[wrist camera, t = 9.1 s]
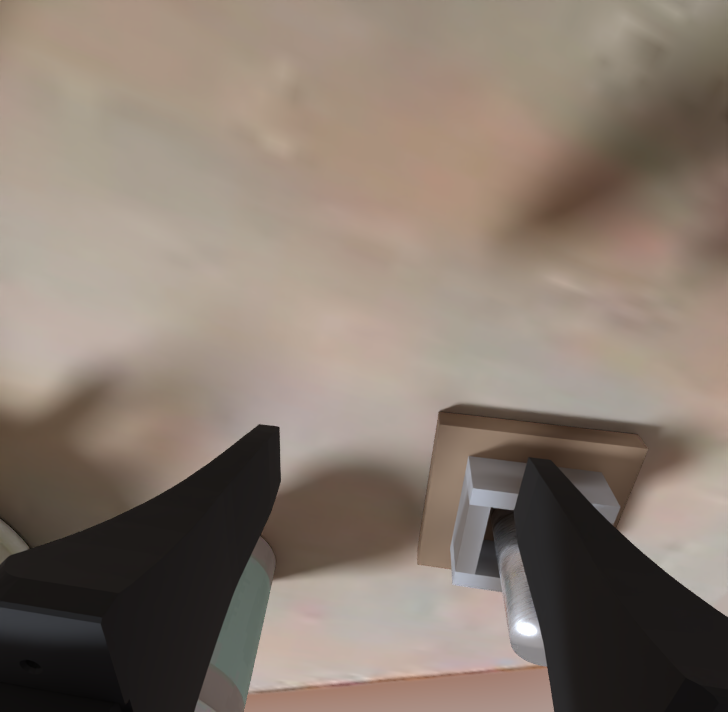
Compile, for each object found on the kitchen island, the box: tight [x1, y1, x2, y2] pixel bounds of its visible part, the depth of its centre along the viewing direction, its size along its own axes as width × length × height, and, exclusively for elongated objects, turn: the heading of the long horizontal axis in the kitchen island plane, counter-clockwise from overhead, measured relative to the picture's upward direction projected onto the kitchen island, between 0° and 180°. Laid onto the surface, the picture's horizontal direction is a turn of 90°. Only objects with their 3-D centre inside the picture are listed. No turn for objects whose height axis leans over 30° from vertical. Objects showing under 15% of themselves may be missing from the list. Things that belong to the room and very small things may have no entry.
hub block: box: [417, 412, 648, 592], centre depth 24 cm, size 10×10×4 cm
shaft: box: [490, 507, 547, 666], centre depth 21 cm, size 3×3×7 cm
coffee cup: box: [194, 536, 276, 712], centre depth 25 cm, size 8×8×12 cm
